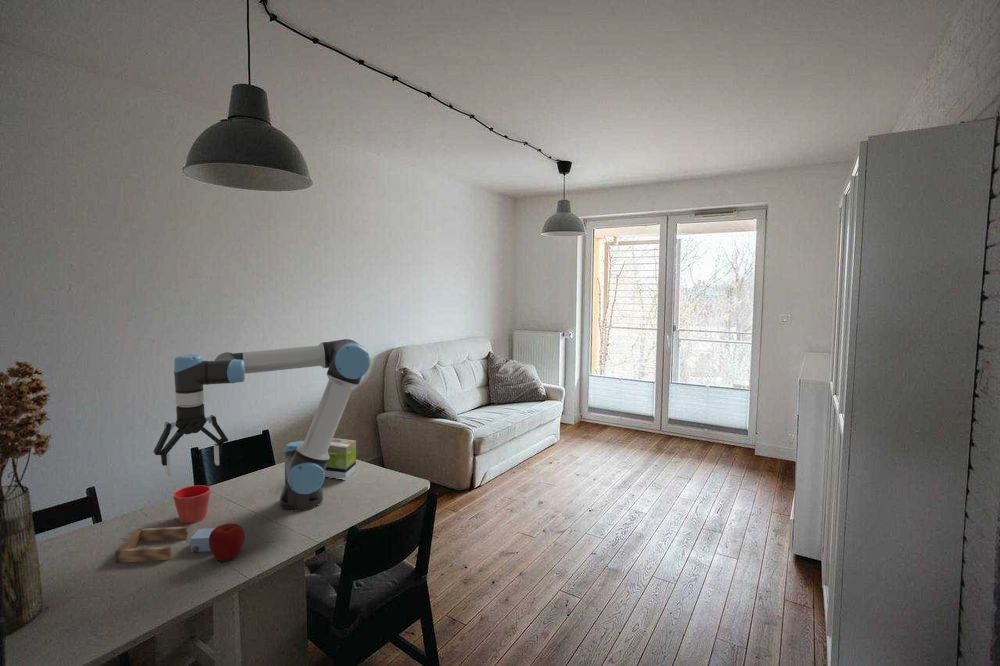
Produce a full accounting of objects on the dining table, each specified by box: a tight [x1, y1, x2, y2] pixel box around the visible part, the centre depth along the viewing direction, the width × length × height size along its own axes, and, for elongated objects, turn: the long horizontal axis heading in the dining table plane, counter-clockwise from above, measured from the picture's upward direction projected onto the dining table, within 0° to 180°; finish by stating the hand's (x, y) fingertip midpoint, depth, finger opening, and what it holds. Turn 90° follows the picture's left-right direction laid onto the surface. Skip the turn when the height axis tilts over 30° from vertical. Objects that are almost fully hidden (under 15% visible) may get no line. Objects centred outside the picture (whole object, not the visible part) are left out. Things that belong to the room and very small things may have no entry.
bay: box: [114, 526, 189, 564], centre depth 157 cm, size 14×13×4 cm
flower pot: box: [172, 484, 212, 524], centre depth 176 cm, size 11×11×10 cm
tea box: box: [324, 437, 357, 479], centre depth 218 cm, size 15×10×15 cm
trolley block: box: [190, 527, 216, 553], centre depth 160 cm, size 8×7×4 cm
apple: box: [209, 522, 246, 562], centre depth 153 cm, size 10×10×10 cm
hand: (193, 469), depth 163 cm, fingers open, 13 cm apart
